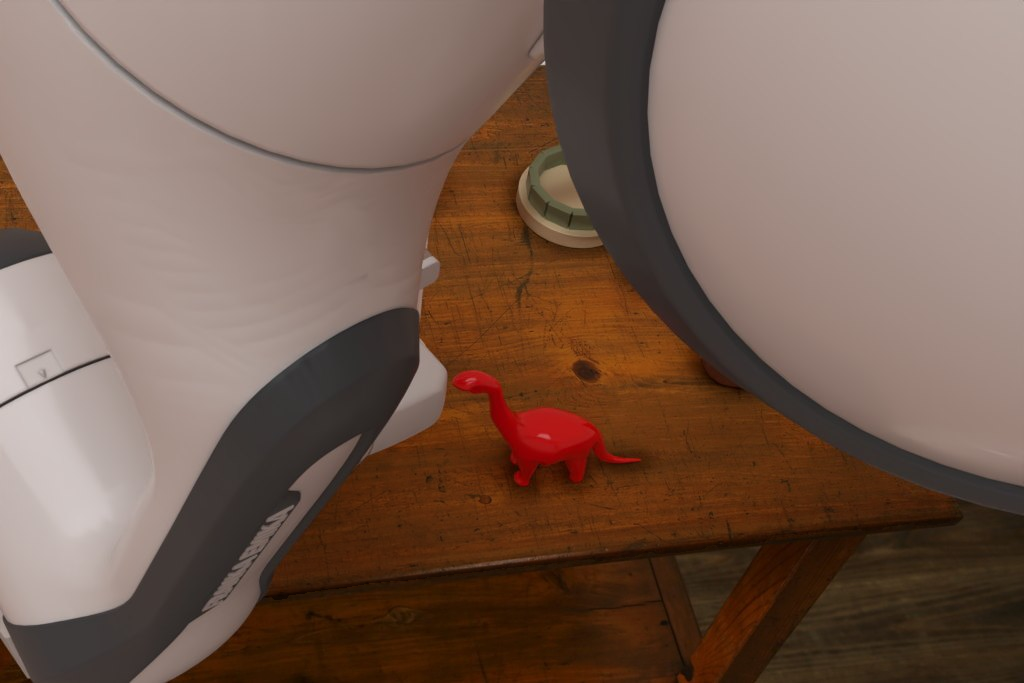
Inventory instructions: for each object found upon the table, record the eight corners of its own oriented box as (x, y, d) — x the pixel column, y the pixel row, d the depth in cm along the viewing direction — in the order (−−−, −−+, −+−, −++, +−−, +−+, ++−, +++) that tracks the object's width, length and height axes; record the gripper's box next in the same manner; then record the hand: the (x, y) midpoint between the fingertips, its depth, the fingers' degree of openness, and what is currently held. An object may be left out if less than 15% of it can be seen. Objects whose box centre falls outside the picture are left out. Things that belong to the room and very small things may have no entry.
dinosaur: (646, 485, 74) (695, 387, 65) (439, 503, 71) (457, 403, 61) (633, 438, 76) (678, 337, 67) (432, 454, 73) (449, 349, 64)
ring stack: (651, 225, 90) (660, 198, 88) (559, 264, 86) (566, 237, 83) (584, 153, 95) (591, 125, 92) (493, 187, 90) (498, 159, 88)
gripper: (302, 460, 45) (537, 323, 52) (83, 183, 54) (309, 95, 60) (305, 527, 50) (519, 394, 57) (103, 264, 59) (311, 174, 65)
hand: (410, 239), depth 59 cm, fingers closed on candle, 3 cm apart
